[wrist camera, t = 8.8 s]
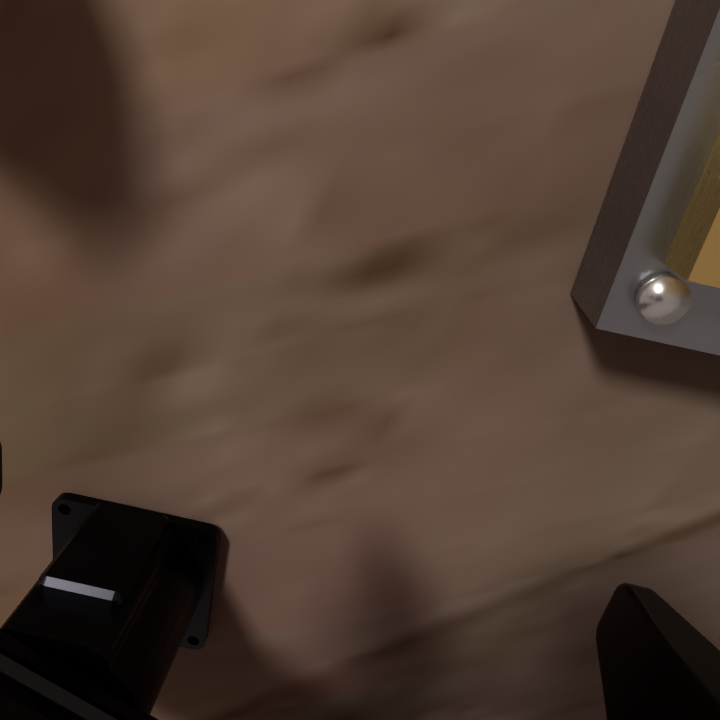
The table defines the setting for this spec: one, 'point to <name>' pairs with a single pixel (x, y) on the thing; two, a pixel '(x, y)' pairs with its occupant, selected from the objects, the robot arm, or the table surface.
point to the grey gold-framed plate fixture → (665, 200)
